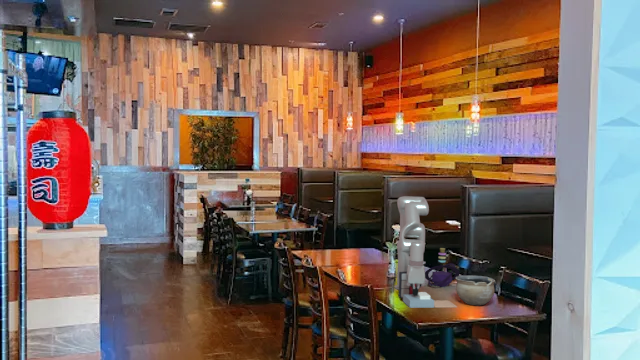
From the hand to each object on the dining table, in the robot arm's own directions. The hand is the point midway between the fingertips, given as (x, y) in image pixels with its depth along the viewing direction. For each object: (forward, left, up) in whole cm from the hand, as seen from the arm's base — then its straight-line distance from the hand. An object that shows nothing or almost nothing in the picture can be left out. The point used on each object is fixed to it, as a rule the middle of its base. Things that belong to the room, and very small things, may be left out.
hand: (415, 295), depth 320 cm
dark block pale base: (-17, +1, -5) cm, 18 cm away
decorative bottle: (-46, +32, -5) cm, 56 cm away
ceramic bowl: (-1, +36, -5) cm, 36 cm away
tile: (0, +5, -1) cm, 5 cm away
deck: (0, +2, -5) cm, 5 cm away
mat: (0, +16, -5) cm, 17 cm away
